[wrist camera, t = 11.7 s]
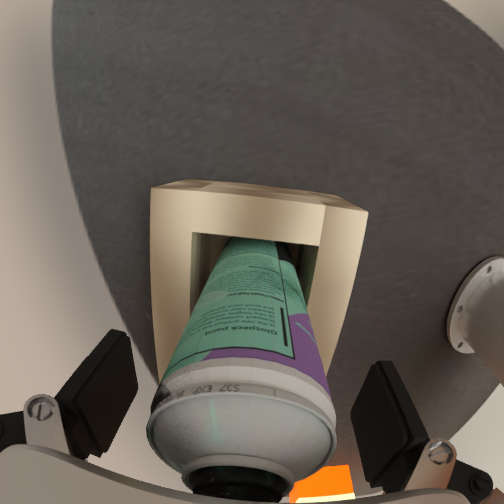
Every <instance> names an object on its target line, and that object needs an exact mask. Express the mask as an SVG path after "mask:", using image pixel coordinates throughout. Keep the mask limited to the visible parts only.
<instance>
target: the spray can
mask: <svg viewBox="0 0 504 504" xmlns="http://www.w3.org/2000/svg"><path fill="white" fill-rule="evenodd" d="M335 428H336V414H335V410H334V406H333V402H332V398H331V395H330V391H329V387H328V383H327V379H326V375H325V372H324V368H323V364H322V361H321V357H320V353H319V350H318V346H317V342H316V339H315V335H314V332H313V328H312V325H311V321H310V318H309V314H308V311H307V307H306V304H305V301H304V297H303V294H302V291H301V287H300V284H299V281H298V277H297V274H296V271H295V267H294V264H293V261H292V258H291V255H290V251H289V249H288V246H287V244H286V243H285V242H281V241H272V240H264V239H255V238H246V237H237V236H231V237H230V238H229V239H228V241H227V242H226V244H225V246H224V248H223V250H222V252H221V254H220V256H219V258H218V260H217V262H216V264H215V266H214V268H213V270H212V272H211V274H210V276H209V279H208V281H207V283H206V285H205V287H204V289H203V291H202V293H201V295H200V297H199V299H198V302H197V304H196V306H195V308H194V310H193V312H192V314H191V316H190V319H189V321H188V323H187V325H186V327H185V329H184V331H183V334H182V336H181V338H180V340H179V342H178V344H177V347H176V349H175V351H174V353H173V355H172V358H171V360H170V362H169V364H168V366H167V369H166V371H165V373H164V375H163V378H162V380H161V382H160V384H159V387H158V389H157V391H156V393H155V396H154V399H153V402H152V405H151V415H150V418H149V421H148V424H147V427H146V432H147V438H148V441H149V444H150V446H151V447H152V449H153V450H154V452H155V453H156V454H157V456H158V457H159V458H160V459H161V460H163V461H164V462H165V463H166V464H167V465H168V466H170V467H171V468H173V469H174V470H176V471H177V472H179V473H181V474H182V481H183V483H184V484H185V485H186V487H188V488H189V489H190V490H192V491H193V494H197V495H203V496H209V497H216V498H223V499H231V500H241V501H252V502H271V503H279V502H280V501H281V499H282V497H284V496H286V495H287V494H289V493H290V492H291V491H292V490H293V488H294V483H296V482H298V481H301V480H303V479H306V478H307V477H309V476H311V475H313V474H315V473H316V472H318V471H319V470H320V469H321V468H323V467H324V466H325V465H326V464H327V463H328V462H329V460H330V459H331V458H332V457H333V455H334V452H335V450H336V448H337V435H336V431H335Z"/></svg>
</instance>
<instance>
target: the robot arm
mask: <svg viewBox="0 0 504 504" xmlns="http://www.w3.org/2000/svg"><path fill="white" fill-rule="evenodd" d="M447 336H448V340H449V342H450V343H451V345H452V346H453V347H454V349H455V350H456V351H458V352H460V353H465V354H468V353H473V352H475V353H476V354H477V355H478V356H479V357H480V359H481V360H482V361H483V362H484V363H485V364H486V366H487V367H488V368H489V369H490V370H491V372H492V373H493V374H494V375H495V377H496V378H497V379H498V380H499V382H500V383H501V384H502V385H503V387H504V257H502V256H494V257H491V258H488V259H486V260H484V261H483V262H482V263H480V264H479V265H478V266H477V267H476V268H475V269H473V270H472V271H471V273H470V274H469V275H468V276H467V278H466V279H465V280H464V282H463V283H462V285H461V286H460V288H459V290H458V292H457V294H456V295H455V297H454V300H453V302H452V305H451V307H450V311H449V314H448V319H447ZM137 390H138V382H137V377H136V372H135V366H134V361H133V354H132V348H131V341H130V337H128V336H127V335H126V333H125V332H123V331H119V330H114V329H111V330H110V331H109V332H108V333H107V334H106V336H104V338H103V339H102V340H101V342H99V344H98V345H97V346H96V347H95V349H94V350H93V351H92V352H91V353H90V355H89V356H87V357H86V358H85V360H84V361H83V362H82V363H81V365H80V366H79V367H78V368H77V369H76V371H75V372H74V373H73V374H72V376H71V377H70V378H69V380H68V381H67V382H66V383H65V385H64V386H63V387H62V388H61V390H60V391H59V392H58V394H57V395H56V396H55V397H54V398H53V397H51V396H49V395H46V394H38V395H35V396H32V397H31V398H29V399H28V401H26V403H25V405H24V410H23V411H20V412H14V413H8V414H2V415H0V504H504V493H503V492H501V491H500V490H499V489H498V488H495V489H494V490H493V481H492V479H491V477H490V476H489V474H488V473H486V472H484V471H482V470H479V469H477V468H474V467H472V466H470V465H468V464H465V463H463V462H461V461H459V460H457V459H456V456H457V453H456V449H455V448H454V446H453V445H452V444H451V443H450V442H449V441H447V440H445V439H441V438H438V439H433V440H430V439H429V437H428V434H427V432H426V430H425V427H424V425H423V423H422V421H421V419H420V417H419V415H418V412H417V410H416V408H415V406H414V404H413V402H412V400H411V398H410V396H409V394H408V392H407V390H406V388H405V386H404V384H403V382H402V380H401V378H400V376H399V374H398V372H397V370H396V368H395V366H394V364H393V363H392V361H377V362H376V363H375V364H373V365H372V366H371V368H370V370H369V372H368V375H367V377H366V379H365V381H364V384H363V386H362V388H361V390H360V392H359V395H358V397H357V399H356V401H355V403H354V405H353V407H352V409H351V420H352V424H353V428H354V432H355V436H356V440H357V445H358V449H359V453H360V457H361V462H362V466H363V471H364V475H365V479H366V481H367V482H370V486H371V488H375V487H381V486H382V487H383V491H384V492H383V494H382V495H378V496H371V497H364V498H357V499H348V500H339V501H327V502H310V503H271V502H252V501H241V500H231V499H223V498H216V497H209V496H203V495H197V494H192V493H187V492H182V491H178V490H173V489H169V488H165V487H161V486H157V485H153V484H150V483H146V482H143V481H139V480H136V479H133V478H130V477H127V476H124V475H121V474H118V473H115V472H112V471H109V470H106V469H104V468H101V467H99V466H96V465H94V464H91V463H89V462H88V461H87V458H88V456H89V455H90V454H92V455H94V456H97V457H99V458H100V457H101V455H102V453H103V452H104V453H106V452H107V451H108V449H109V447H110V445H111V443H112V441H113V439H114V437H115V435H116V433H117V431H118V429H119V427H120V425H121V423H122V421H123V419H124V417H125V415H126V413H127V411H128V409H129V407H130V405H131V403H132V401H133V399H134V398H135V396H136V393H137Z"/></svg>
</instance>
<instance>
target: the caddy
mask: <svg viewBox="0 0 504 504" xmlns="http://www.w3.org/2000/svg"><path fill="white" fill-rule="evenodd" d="M367 218H368V212H367V211H365V210H363V209H361V208H359V207H358V206H356V205H354V204H352V203H350V202H348V201H346V200H344V199H342V198H340V197H338V196H336V195H332V194H325V193H318V192H311V191H304V190H297V189H289V188H281V187H273V186H264V185H255V184H246V183H235V182H224V181H213V180H200V179H185V180H181V181H177V182H173V183H169V184H165V185H161V186H157V187H153V188H151V206H150V273H151V297H152V314H153V328H154V339H155V350H156V359H157V368H158V376H159V383H160V382H161V380H162V378H163V375H164V373H165V371H166V369H167V366H168V364H169V362H170V360H171V358H172V355H173V353H174V351H175V349H176V347H177V344H178V342H179V340H180V338H181V336H182V334H183V331H184V329H185V327H186V325H187V323H188V321H189V319H190V316H191V314H192V312H193V310H194V308H195V306H196V304H197V302H198V299H199V297H200V295H201V293H202V291H203V289H204V287H205V285H206V283H207V281H208V279H209V276H210V274H211V272H212V270H213V268H214V266H215V264H216V262H217V260H218V258H219V256H220V254H221V252H222V250H223V248H224V246H225V244H226V242H227V241H228V239H229V238H230V237H231V236H237V237H246V238H255V239H264V240H272V241H281V242H285V243H286V244H287V246H288V249H289V251H290V255H291V258H292V261H293V264H294V267H295V271H296V274H297V277H298V281H299V284H300V287H301V291H302V294H303V297H304V301H305V304H306V307H307V311H308V314H309V318H310V321H311V325H312V328H313V332H314V335H315V339H316V342H317V346H318V350H319V353H320V357H321V361H322V364H323V368H324V372H325V375H327V372H328V369H329V366H330V363H331V360H332V357H333V354H334V351H335V348H336V345H337V341H338V338H339V335H340V331H341V328H342V325H343V321H344V317H345V314H346V310H347V307H348V303H349V299H350V295H351V291H352V287H353V283H354V279H355V275H356V271H357V266H358V262H359V258H360V253H361V248H362V243H363V239H364V234H365V228H366V223H367Z"/></svg>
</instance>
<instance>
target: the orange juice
mask: <svg viewBox="0 0 504 504" xmlns="http://www.w3.org/2000/svg"><path fill="white" fill-rule="evenodd" d="M289 495H290V503H310V502H327V501H339V500H348V499H355V495H354V492H353V487H352V481H351V476H350V471H349V466H348V465H342V466H330V467H323V468H321V469H320V470H319V471H318V472H316V473H315V474H313V475H311V476H309V477H307V478H306V479H303V480H301V481H298V482H296V483H294V488H293V490H292V491H291V492H290V493H289Z"/></svg>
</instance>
